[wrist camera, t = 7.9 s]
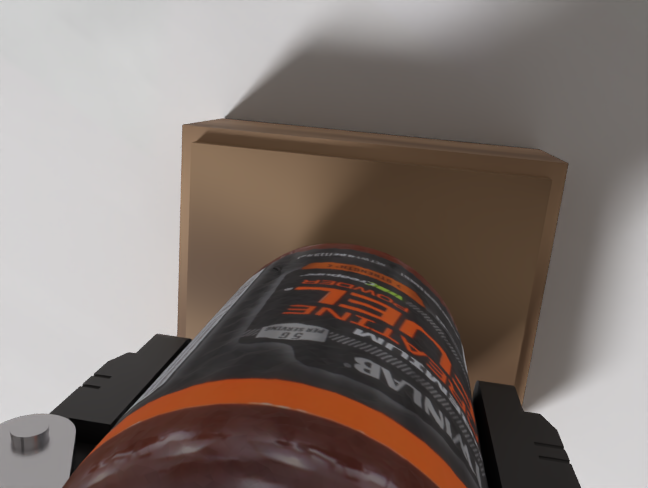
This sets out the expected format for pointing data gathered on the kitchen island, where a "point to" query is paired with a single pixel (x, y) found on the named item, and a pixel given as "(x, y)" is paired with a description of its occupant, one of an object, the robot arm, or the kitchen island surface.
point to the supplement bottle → (307, 388)
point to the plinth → (375, 222)
